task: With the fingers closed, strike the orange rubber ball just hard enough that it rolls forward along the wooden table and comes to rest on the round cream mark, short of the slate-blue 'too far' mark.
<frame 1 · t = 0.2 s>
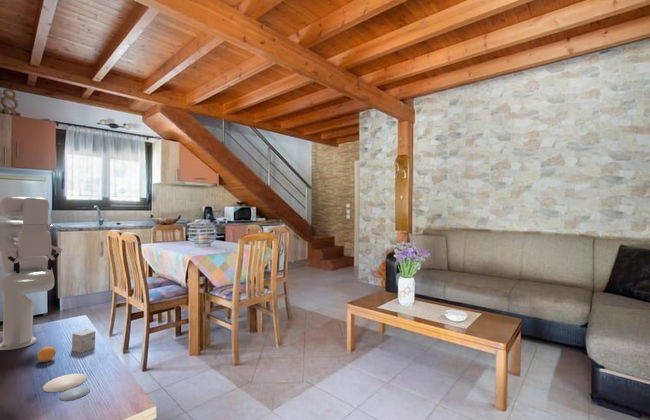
hand: (33, 271, 128), 36 cm above the table, tool pointing down, fingers open, 9 cm apart
skincare box: (83, 349, 140), on the table
ball: (46, 354, 128), on the table
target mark: (65, 382, 113), on the table
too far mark: (75, 393, 107), on the table
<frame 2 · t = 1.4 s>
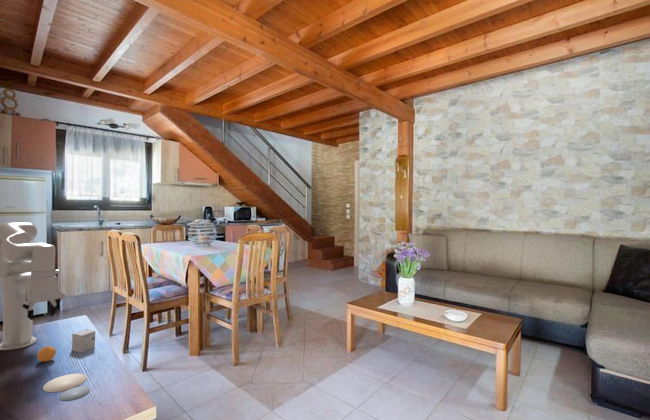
hand: (41, 316, 134), 16 cm above the table, tool pointing down, fingers open, 5 cm apart
nothing on the table moved.
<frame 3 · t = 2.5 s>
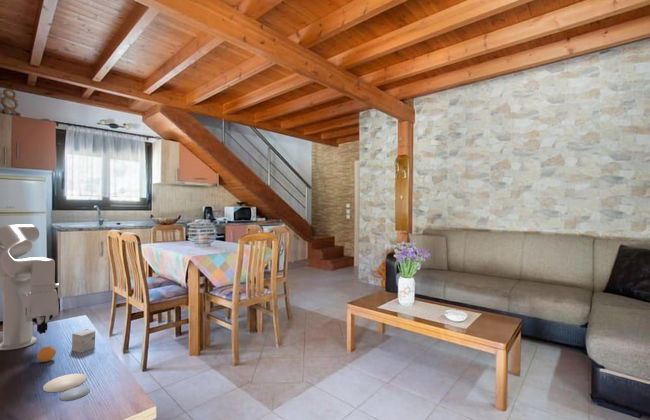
hand: (42, 332, 134), 9 cm above the table, tool pointing down, fingers closed
nothing on the table moved.
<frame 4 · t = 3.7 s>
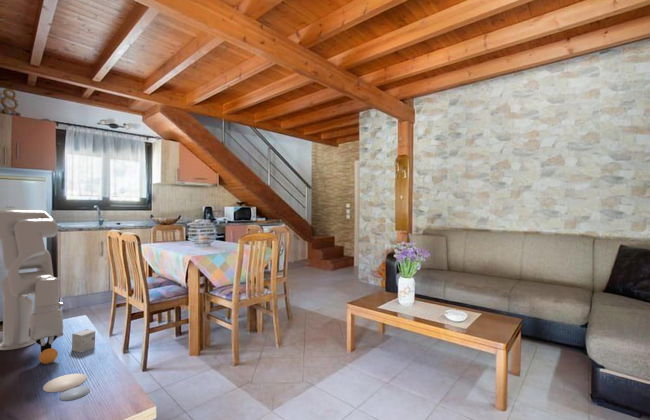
hand: (45, 354, 129), 2 cm above the table, tool pointing down, fingers closed
ball: (48, 355, 127), on the table
everything else where it was.
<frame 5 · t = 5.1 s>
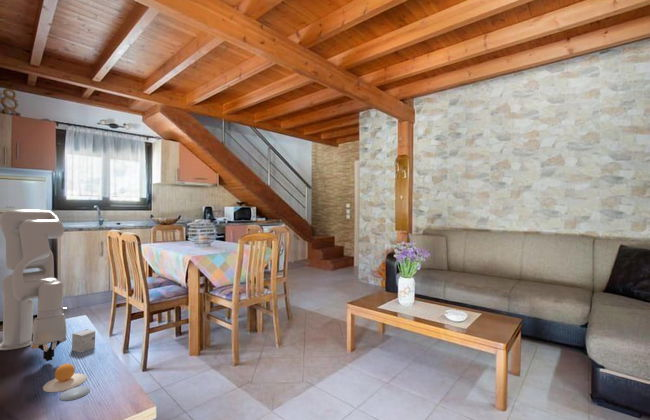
hand: (48, 359, 126), 2 cm above the table, tool pointing down, fingers closed
ball: (64, 372, 115), on the table
everything else where it was.
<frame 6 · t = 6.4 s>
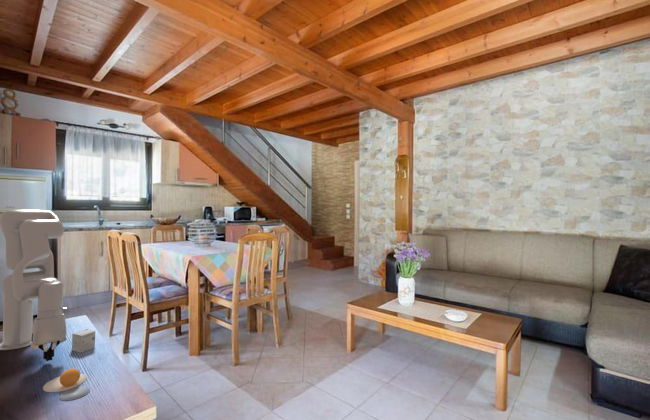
hand: (48, 359, 126), 2 cm above the table, tool pointing down, fingers closed
ball: (70, 377, 111), on the table
everything else where it was.
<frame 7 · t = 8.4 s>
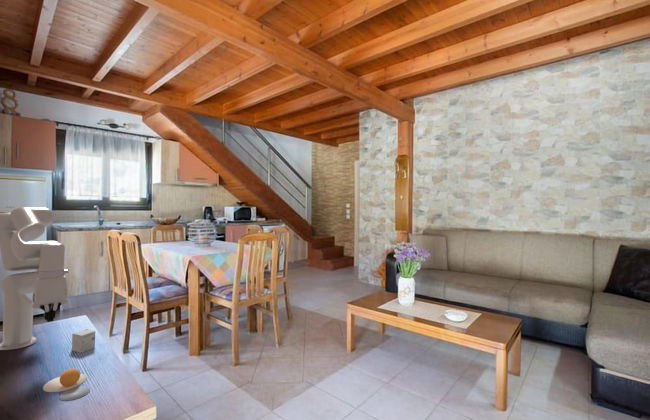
hand: (49, 320, 127), 17 cm above the table, tool pointing down, fingers closed
nothing on the table moved.
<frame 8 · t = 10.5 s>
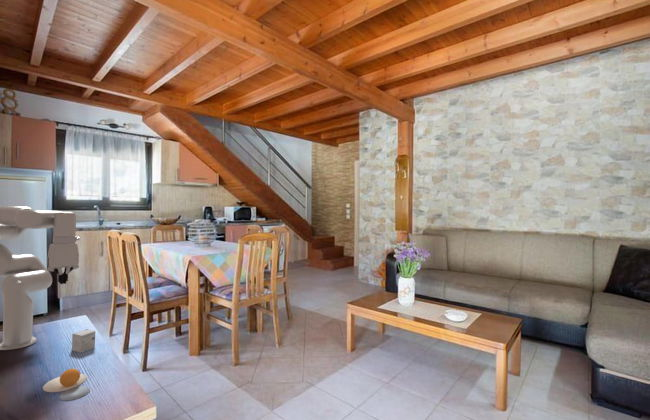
hand: (62, 283, 137), 29 cm above the table, tool pointing down, fingers closed
nothing on the table moved.
at the end: ball 3.3 cm from the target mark (horizontally); ball at rest at the end (0.0 cm/s); ball moved 28.2 cm from its start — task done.
